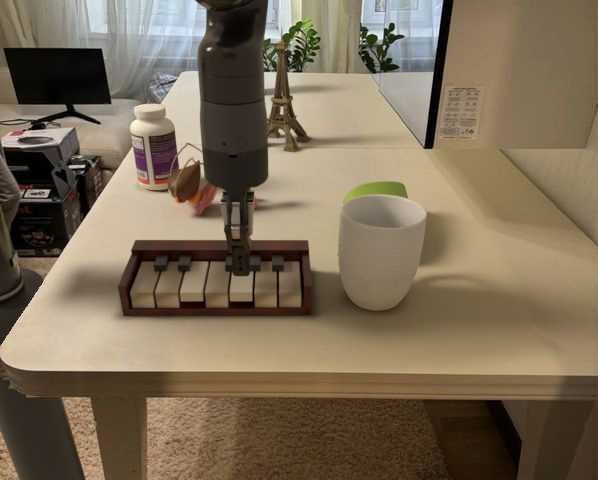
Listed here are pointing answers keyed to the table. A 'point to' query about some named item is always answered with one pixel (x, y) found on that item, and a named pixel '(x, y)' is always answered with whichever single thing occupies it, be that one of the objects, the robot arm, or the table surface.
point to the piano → (216, 278)
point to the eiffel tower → (284, 106)
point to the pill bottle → (153, 146)
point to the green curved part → (377, 190)
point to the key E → (195, 282)
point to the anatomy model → (191, 185)
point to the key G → (242, 287)
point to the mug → (379, 248)
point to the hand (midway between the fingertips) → (241, 273)
